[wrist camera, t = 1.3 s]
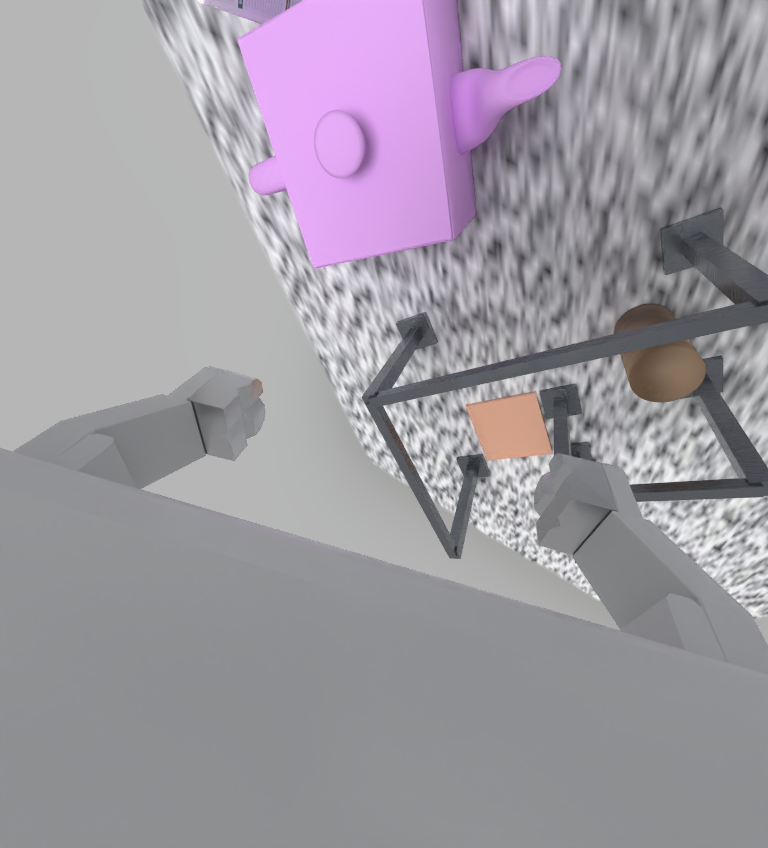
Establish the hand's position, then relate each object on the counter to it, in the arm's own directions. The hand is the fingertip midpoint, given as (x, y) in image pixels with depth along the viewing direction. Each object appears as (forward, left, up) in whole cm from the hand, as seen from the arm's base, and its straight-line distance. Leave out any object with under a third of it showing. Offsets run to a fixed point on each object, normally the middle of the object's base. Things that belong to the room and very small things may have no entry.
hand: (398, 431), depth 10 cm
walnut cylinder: (-10, +15, -34) cm, 39 cm away
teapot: (+6, -10, -35) cm, 37 cm away
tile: (+6, +25, -34) cm, 43 cm away
